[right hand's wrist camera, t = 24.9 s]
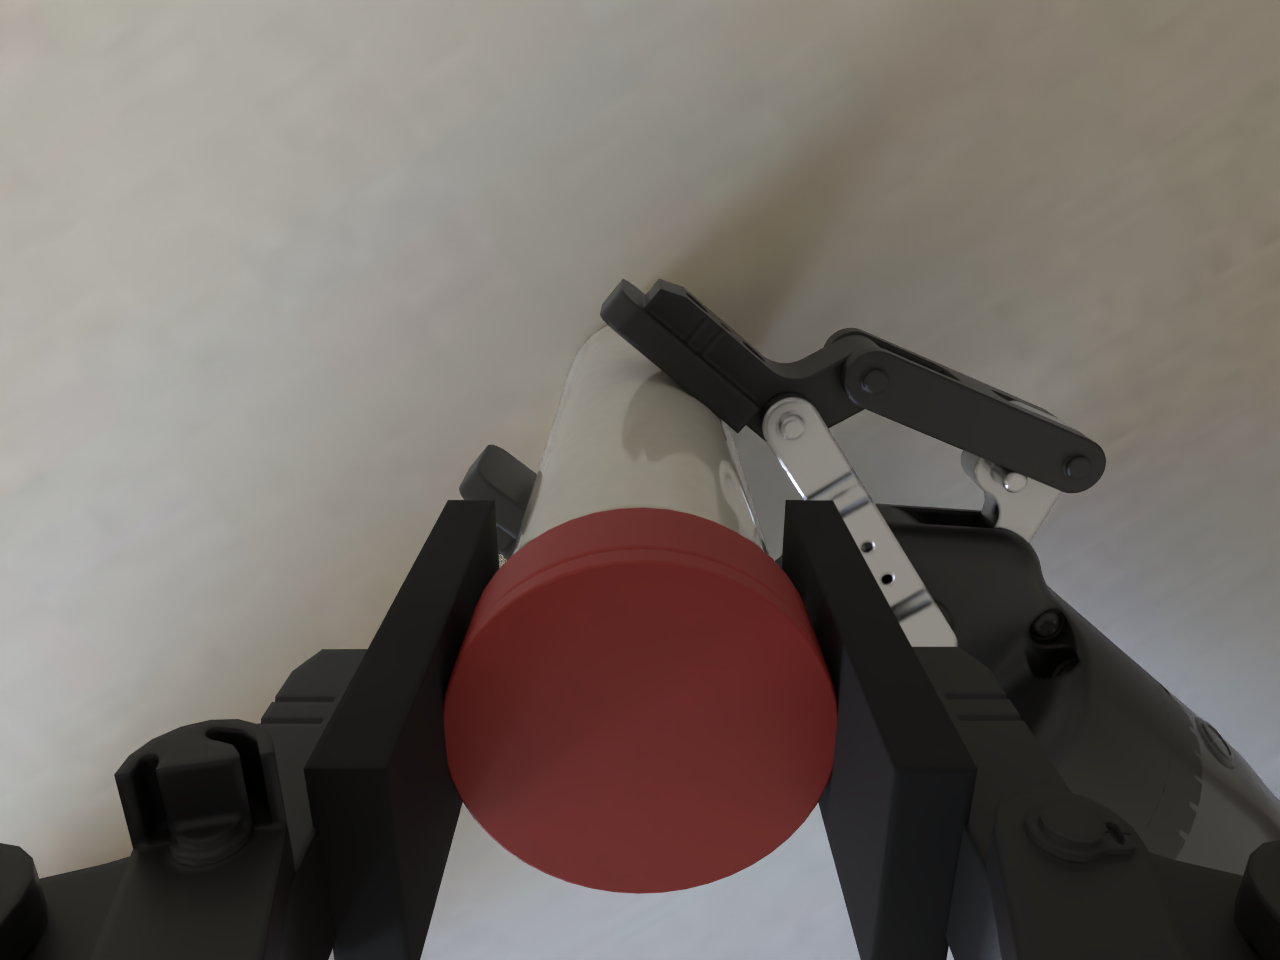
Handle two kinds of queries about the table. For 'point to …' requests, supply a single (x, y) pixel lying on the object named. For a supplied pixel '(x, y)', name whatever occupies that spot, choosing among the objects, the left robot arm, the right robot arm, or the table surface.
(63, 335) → the table surface
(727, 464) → the jar
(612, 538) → the lid
